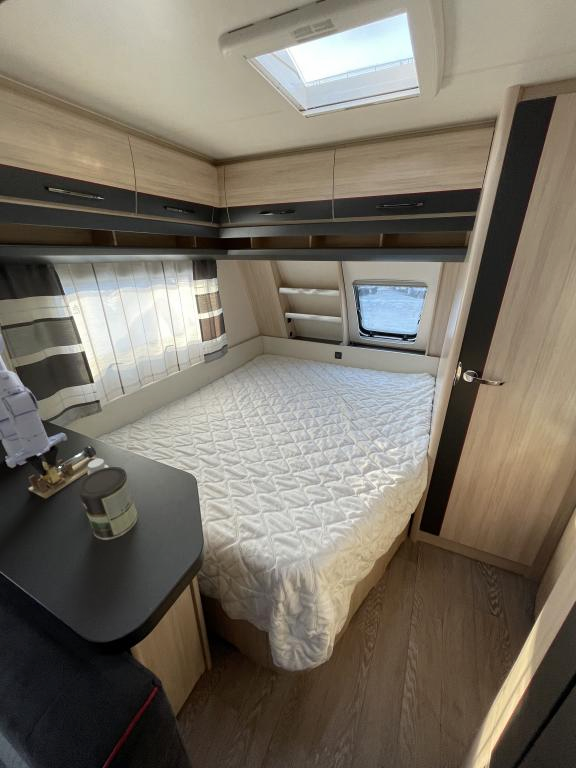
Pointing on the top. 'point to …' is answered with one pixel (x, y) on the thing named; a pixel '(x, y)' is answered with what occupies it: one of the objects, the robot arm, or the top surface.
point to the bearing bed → (66, 478)
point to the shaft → (78, 458)
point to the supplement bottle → (96, 465)
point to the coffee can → (108, 502)
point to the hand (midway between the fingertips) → (48, 472)
